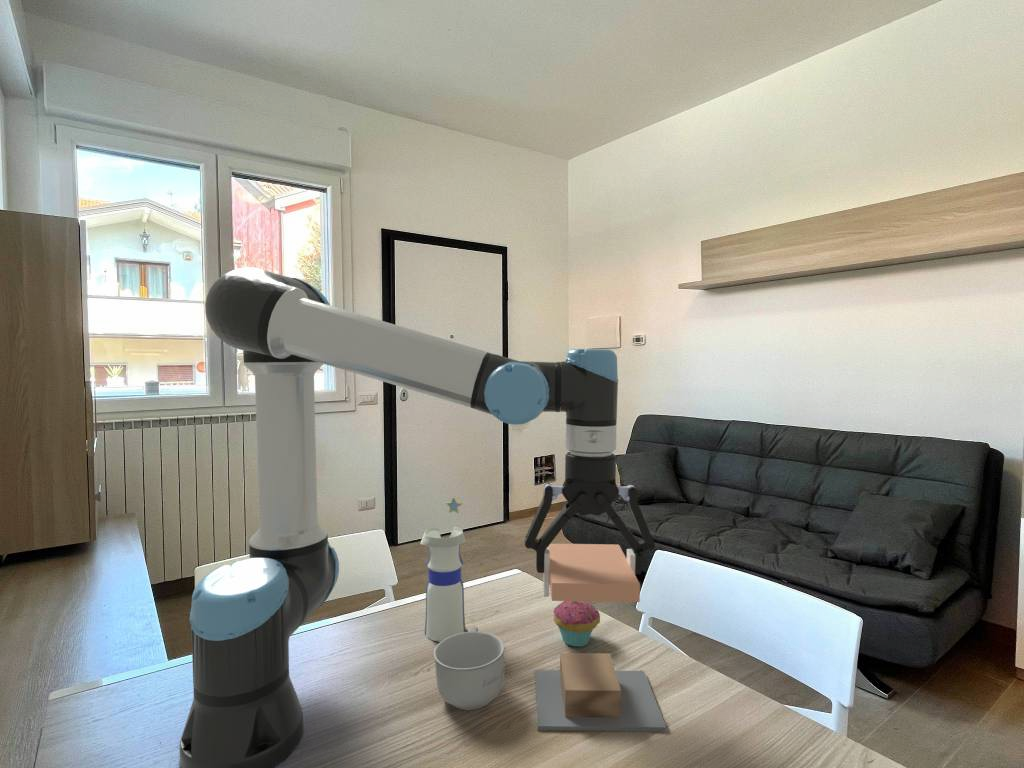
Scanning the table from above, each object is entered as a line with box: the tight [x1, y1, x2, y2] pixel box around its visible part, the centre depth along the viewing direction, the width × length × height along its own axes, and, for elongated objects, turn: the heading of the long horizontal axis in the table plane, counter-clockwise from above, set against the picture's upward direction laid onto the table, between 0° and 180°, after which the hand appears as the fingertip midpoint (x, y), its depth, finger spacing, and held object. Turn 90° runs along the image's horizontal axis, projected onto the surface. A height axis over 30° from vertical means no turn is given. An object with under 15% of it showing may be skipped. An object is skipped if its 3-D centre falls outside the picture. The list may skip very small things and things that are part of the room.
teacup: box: [432, 625, 506, 711], centre depth 87 cm, size 14×11×8 cm
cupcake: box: [553, 601, 601, 647], centre depth 103 cm, size 9×8×12 cm
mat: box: [534, 669, 667, 732], centre depth 85 cm, size 18×14×1 cm
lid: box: [547, 543, 641, 603], centre depth 84 cm, size 12×16×2 cm
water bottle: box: [420, 497, 467, 643], centre depth 106 cm, size 8×9×25 cm
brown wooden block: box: [559, 652, 621, 718], centre depth 85 cm, size 8×10×4 cm
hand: (588, 593), depth 84 cm, fingers closed on lid, 12 cm apart
